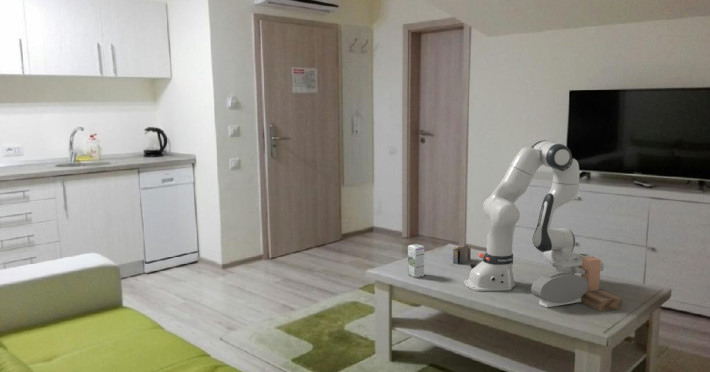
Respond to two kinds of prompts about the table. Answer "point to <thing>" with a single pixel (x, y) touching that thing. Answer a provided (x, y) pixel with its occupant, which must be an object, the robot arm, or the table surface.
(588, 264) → the terracotta block
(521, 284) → the table surface
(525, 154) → the robot arm
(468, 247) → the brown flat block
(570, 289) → the alarm clock
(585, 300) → the block
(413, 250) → the syrup box
